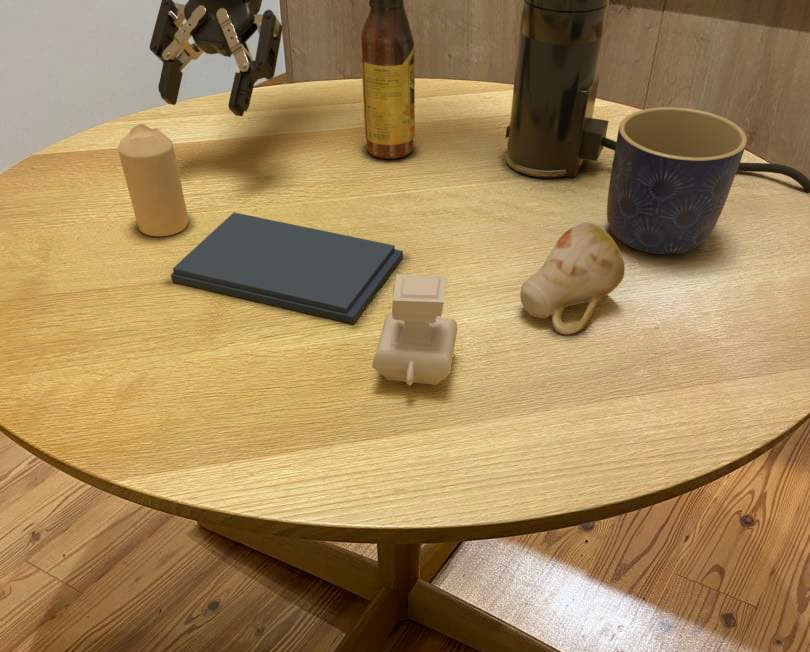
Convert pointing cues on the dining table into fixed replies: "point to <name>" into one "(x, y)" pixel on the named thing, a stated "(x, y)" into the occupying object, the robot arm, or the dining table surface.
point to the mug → (574, 276)
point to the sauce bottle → (388, 80)
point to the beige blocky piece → (416, 332)
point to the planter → (671, 177)
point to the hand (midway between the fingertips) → (201, 107)
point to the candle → (153, 181)
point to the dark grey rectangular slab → (289, 266)
